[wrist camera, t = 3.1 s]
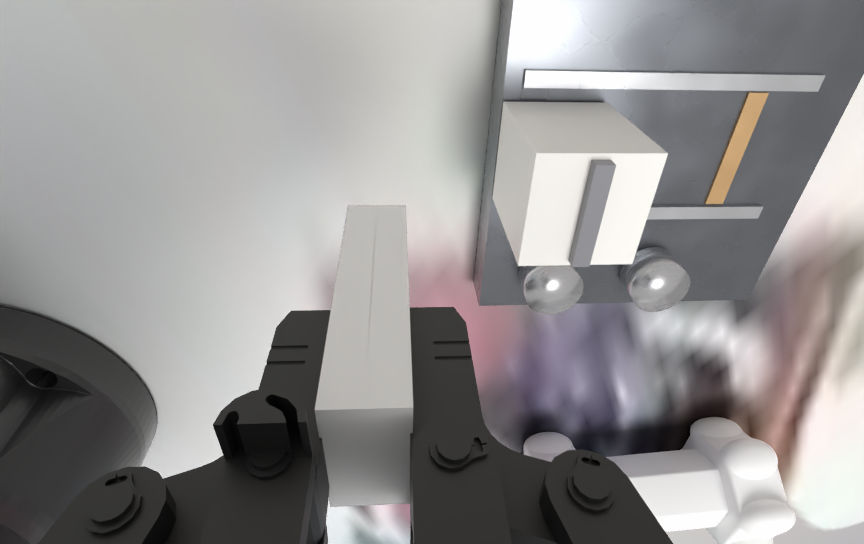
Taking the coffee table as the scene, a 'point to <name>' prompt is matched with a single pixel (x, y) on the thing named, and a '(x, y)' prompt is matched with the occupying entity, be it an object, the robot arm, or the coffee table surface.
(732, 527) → the bone shaped toy
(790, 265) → the coffee table surface
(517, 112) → the block
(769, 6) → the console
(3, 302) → the coffee table surface
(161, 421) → the coffee table surface
